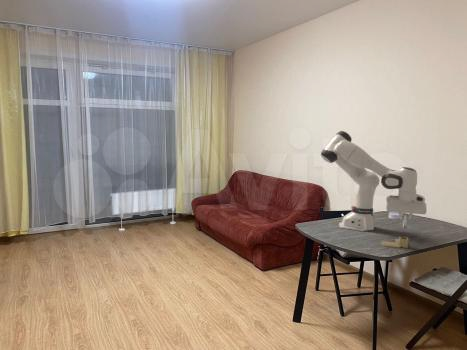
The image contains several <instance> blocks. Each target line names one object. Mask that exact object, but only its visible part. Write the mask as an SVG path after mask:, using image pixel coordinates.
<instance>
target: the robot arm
mask: <svg viewBox="0 0 467 350" xmlns="http://www.w3.org/2000/svg"><path fill="white" fill-rule="evenodd" d="M320 156H321V158H322V159H323V160H324V161H325V162H326V163H329V164H333V163H336V165H337V166H338V167H340V168H341V170H343V171H344V172H345V173H346V174H347V175H348V177H350V179H351V180H352V181H354V183H355V184H357V185H358V186H359V188H358V190H357V193H356V194H355V201H354V203H355V205H352V206H351V208H350V209H351V211H350V212H348V213H347V214H345V215H344V216H343V218H342V221H340V222H339V223H338V226H339V228H342V229H347V230H353V231H359V232H366V231H373V230H374V229H375V228H374V223H373V216H374V207H373V206H374V197H375V194H376V189H377V188H378V186H379V184H380V183H381V186H383V188H384V189H386V190H396V189H397V190H398V194H397V195H393V194H392V195H388V196H387V197H386V201H385V202H386V208H385V209H386V211H387V212H388V213H389V212H399V215H400V219H399V220H400V221H403V219H404V217H403V214H402V213H407V214H409V216H407V222H410V221H411V218H412V217H413V215H426V214H427V203H426V202H425V201H426V198H425V197H424V196H423V195H420V194H418V193H417V184H418V172H417V170H416V169H415V168H412V167H407V166H402V167H400V168H399V169H397V170H395V169H390V168H388V167H387V166H386V165H384V164H382V163H380V162H379V161H377V160H376V159H375V158H373V157H372V156H371V155H370V154H368V153H367V151H365V150H364V149H363V148H361V146H358V145H357V144H356V143H353V142H352V136H351V135H350V134H349V133H348V132H346V131H344V130H340V131H338V132H336V134H335V135H334V136H333V137H332V138H331V139H330V140H329V142H327V144H326V145H325V147H324V148H323V149H322V151H321V153H320ZM380 177H381V179H380ZM401 214H402V216H401Z"/></svg>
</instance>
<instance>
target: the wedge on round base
mask: <svg viewBox="0 0 467 350" xmlns="http://www.w3.org/2000/svg"><path fill="white" fill-rule="evenodd" d="M403 215H404V213H402V214H401V216H402V217H403ZM388 219H391V220H400V215H399V212H389V211H388Z"/></svg>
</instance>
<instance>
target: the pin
mask: <svg viewBox="0 0 467 350" xmlns="http://www.w3.org/2000/svg"><path fill="white" fill-rule="evenodd" d="M408 214H409V213H404V214H402V217H404V219H403V220H402V228H403V229H407V228H408V227H407V226H408V223H407V222H408V221H407V217H408Z"/></svg>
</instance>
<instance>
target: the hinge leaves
mask: <svg viewBox="0 0 467 350" xmlns="http://www.w3.org/2000/svg"><path fill="white" fill-rule="evenodd" d="M394 240H395V242H393V241H392V242H391V241H384V240H381V246H382V247H388V246H389V247H391V248H397V247H398V249H400V248H401V247H403V248H404V249H408V248H409V238H408V237H406V236H398V238H395V239H394ZM403 248H402V249H403Z"/></svg>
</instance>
